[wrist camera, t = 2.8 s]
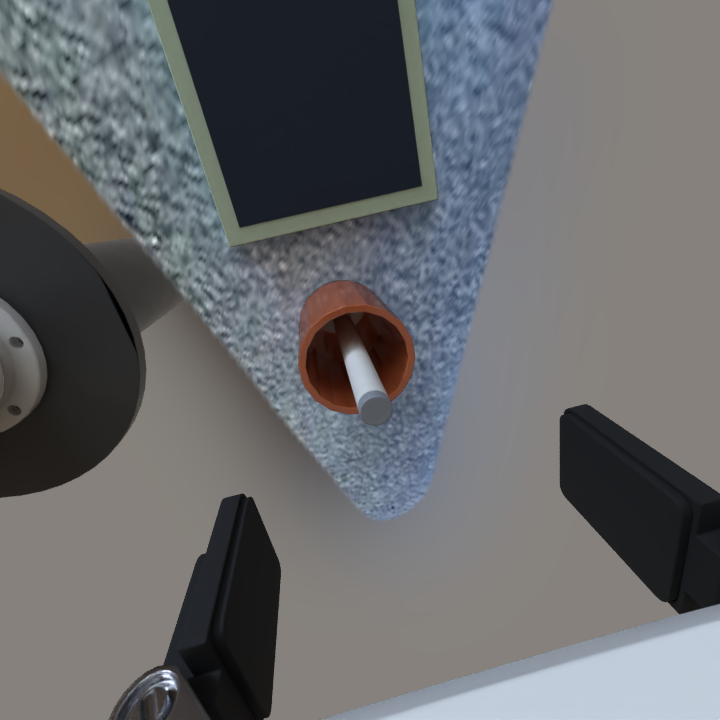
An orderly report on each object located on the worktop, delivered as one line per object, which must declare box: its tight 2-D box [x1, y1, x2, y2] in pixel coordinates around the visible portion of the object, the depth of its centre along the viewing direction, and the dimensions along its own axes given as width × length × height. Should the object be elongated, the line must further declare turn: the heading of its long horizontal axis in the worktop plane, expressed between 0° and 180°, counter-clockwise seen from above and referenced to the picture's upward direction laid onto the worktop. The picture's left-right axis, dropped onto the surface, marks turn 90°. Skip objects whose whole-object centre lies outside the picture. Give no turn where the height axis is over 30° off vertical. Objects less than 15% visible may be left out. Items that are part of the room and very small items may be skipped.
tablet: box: [147, 0, 438, 247], centre depth 21 cm, size 14×18×1 cm
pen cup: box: [298, 280, 415, 414], centre depth 24 cm, size 6×6×8 cm
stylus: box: [334, 316, 393, 426], centre depth 21 cm, size 1×1×13 cm
